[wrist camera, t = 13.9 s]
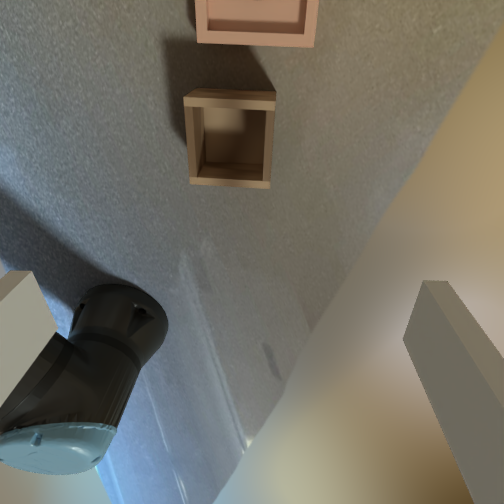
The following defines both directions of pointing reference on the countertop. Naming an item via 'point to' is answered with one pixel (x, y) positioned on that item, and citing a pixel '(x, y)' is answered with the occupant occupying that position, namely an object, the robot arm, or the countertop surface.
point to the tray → (257, 22)
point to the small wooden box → (230, 136)
